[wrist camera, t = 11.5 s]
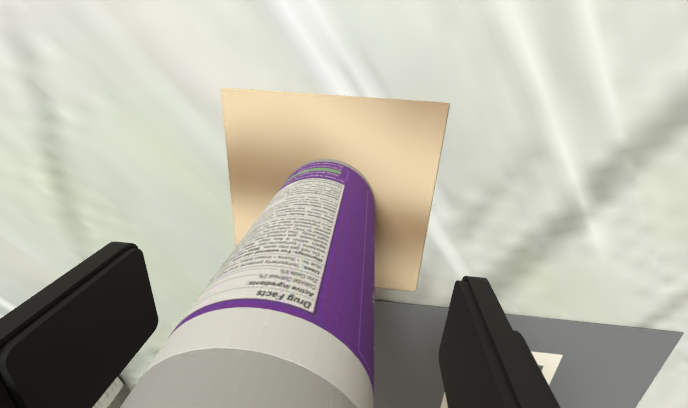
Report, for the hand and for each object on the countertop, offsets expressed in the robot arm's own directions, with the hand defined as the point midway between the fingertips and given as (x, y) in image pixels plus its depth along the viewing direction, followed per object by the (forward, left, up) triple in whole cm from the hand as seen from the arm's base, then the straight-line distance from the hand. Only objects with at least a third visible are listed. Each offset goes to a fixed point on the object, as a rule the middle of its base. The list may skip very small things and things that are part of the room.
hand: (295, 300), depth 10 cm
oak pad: (0, 0, -7) cm, 7 cm away
